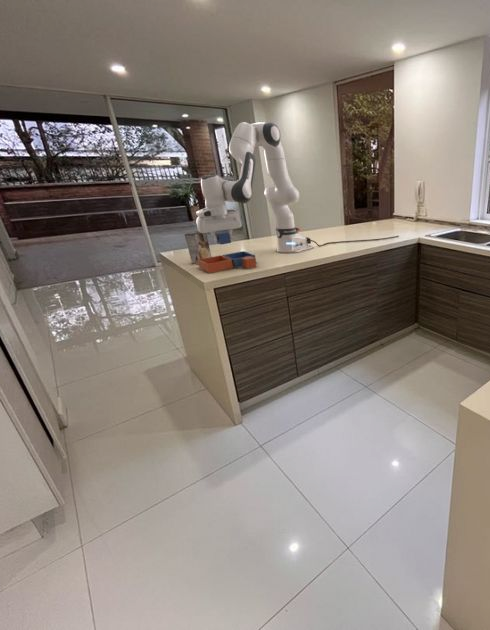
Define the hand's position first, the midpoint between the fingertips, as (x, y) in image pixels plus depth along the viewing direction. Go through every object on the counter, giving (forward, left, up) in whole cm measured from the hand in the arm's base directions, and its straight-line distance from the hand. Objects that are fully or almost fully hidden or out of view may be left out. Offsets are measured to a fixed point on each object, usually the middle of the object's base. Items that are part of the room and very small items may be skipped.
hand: (223, 239), depth 168 cm
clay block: (-10, +2, -16) cm, 19 cm away
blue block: (0, 0, -2) cm, 2 cm away
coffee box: (+3, -28, -16) cm, 32 cm away
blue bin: (-10, -9, -16) cm, 21 cm away
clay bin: (+3, -9, -16) cm, 18 cm away
